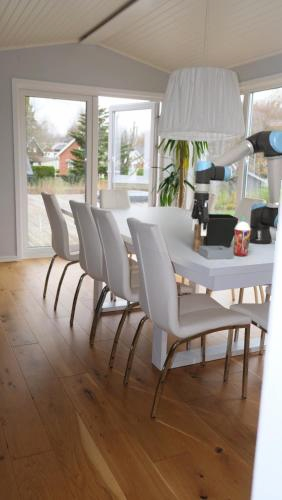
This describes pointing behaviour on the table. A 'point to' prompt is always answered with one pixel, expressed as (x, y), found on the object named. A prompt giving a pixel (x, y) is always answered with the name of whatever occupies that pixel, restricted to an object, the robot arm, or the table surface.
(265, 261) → the table surface
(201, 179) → the robot arm
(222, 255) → the socket block
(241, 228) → the smoothie
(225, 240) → the flower pot
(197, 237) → the peg
